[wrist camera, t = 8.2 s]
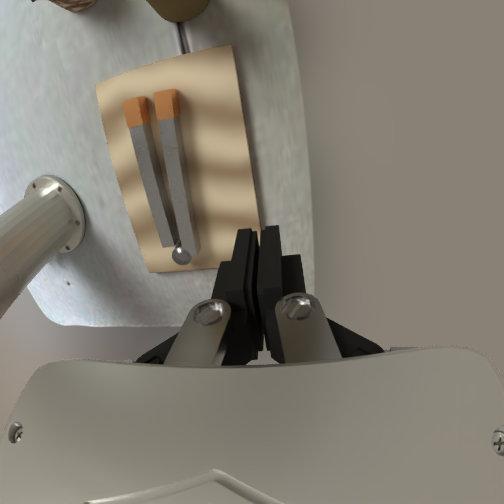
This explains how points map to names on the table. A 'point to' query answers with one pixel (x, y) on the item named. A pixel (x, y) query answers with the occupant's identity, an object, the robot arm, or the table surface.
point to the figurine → (73, 4)
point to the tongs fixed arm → (150, 169)
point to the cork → (178, 9)
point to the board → (188, 152)
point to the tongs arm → (177, 175)
